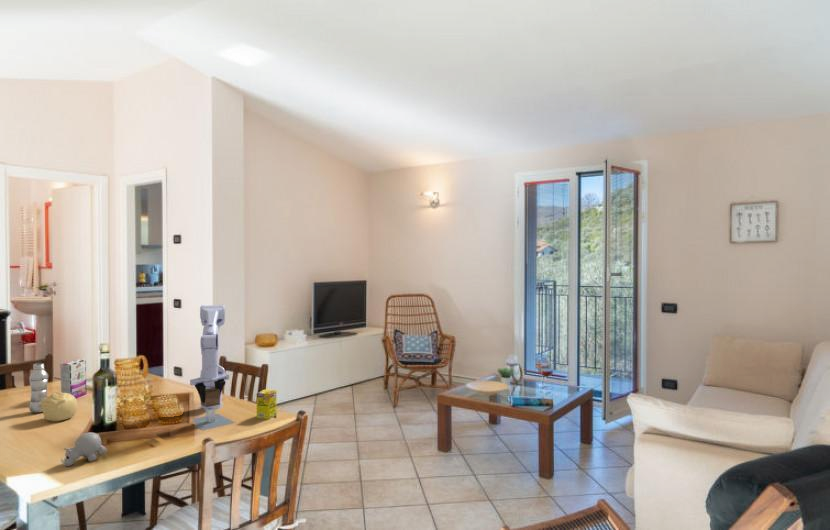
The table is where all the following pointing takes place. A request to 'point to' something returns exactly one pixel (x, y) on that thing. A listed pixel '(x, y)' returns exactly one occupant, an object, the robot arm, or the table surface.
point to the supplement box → (266, 404)
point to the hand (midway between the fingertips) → (210, 400)
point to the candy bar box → (74, 377)
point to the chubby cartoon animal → (84, 449)
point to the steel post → (210, 415)
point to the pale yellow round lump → (59, 406)
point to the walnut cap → (211, 397)
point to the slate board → (218, 422)
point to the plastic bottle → (38, 387)
